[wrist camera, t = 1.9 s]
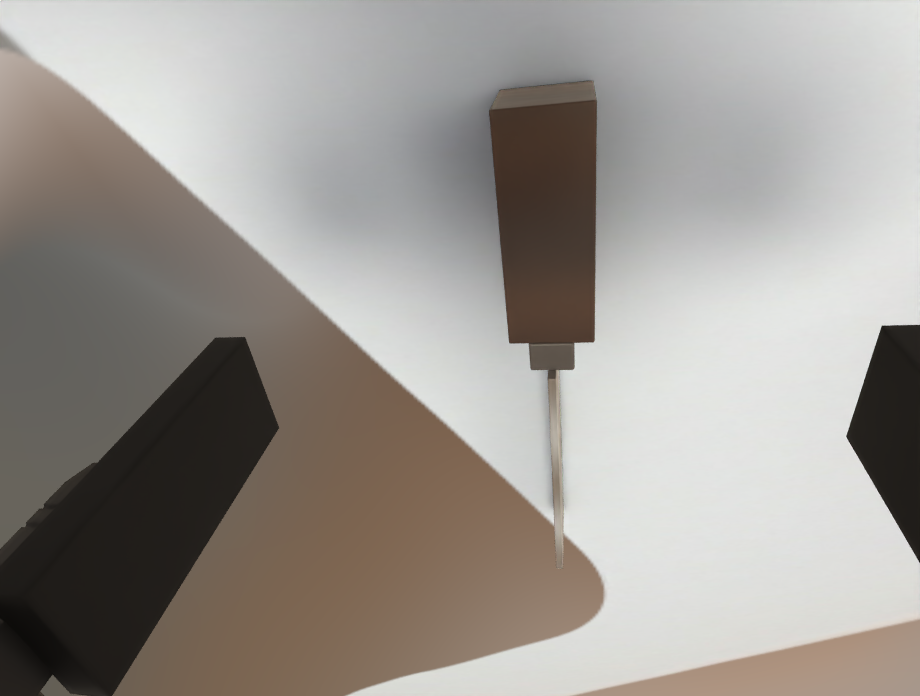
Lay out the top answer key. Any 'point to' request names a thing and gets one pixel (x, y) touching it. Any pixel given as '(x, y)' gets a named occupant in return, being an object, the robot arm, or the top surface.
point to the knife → (548, 233)
